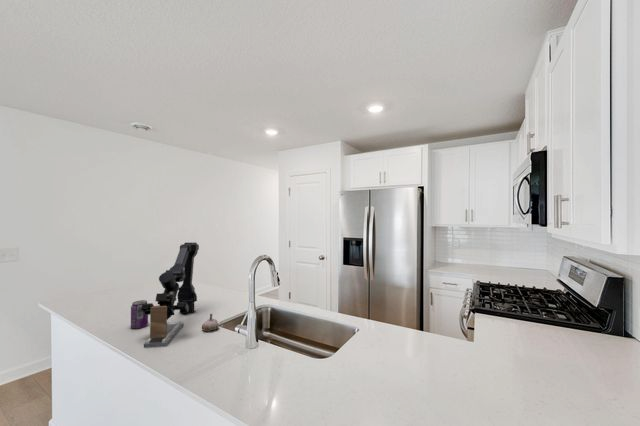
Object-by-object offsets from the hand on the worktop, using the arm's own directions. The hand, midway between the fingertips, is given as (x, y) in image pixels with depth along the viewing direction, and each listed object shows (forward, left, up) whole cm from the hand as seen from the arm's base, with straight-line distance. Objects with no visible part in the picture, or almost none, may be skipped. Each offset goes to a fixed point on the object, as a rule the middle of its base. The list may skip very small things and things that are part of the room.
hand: (159, 326), depth 117 cm
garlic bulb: (-21, +5, -7) cm, 22 cm away
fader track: (-4, -4, -7) cm, 9 cm away
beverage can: (-2, -26, -7) cm, 27 cm away
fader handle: (+1, +1, -5) cm, 5 cm away
